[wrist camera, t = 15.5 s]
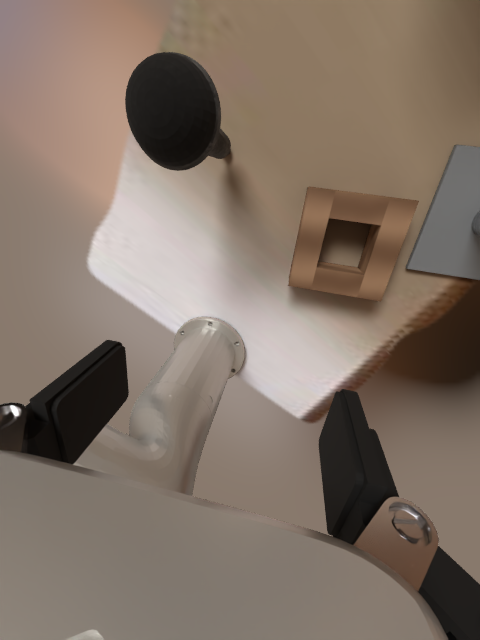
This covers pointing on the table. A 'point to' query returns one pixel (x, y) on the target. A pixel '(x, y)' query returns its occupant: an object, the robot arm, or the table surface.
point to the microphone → (175, 111)
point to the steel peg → (476, 224)
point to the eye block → (379, 249)
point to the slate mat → (452, 220)
